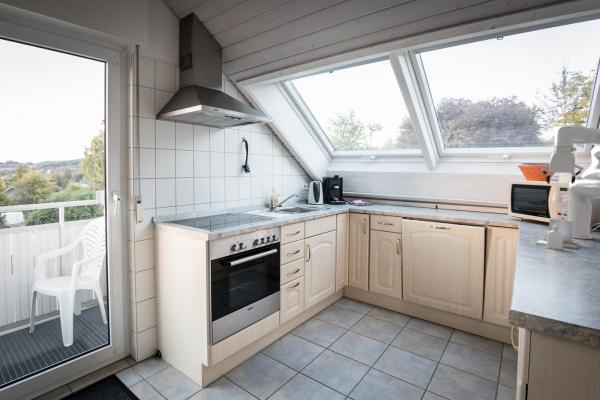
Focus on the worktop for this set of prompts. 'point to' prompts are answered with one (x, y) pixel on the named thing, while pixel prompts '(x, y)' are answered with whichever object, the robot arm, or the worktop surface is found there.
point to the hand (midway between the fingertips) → (560, 183)
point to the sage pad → (542, 242)
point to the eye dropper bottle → (555, 238)
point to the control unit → (563, 229)
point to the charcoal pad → (569, 246)
